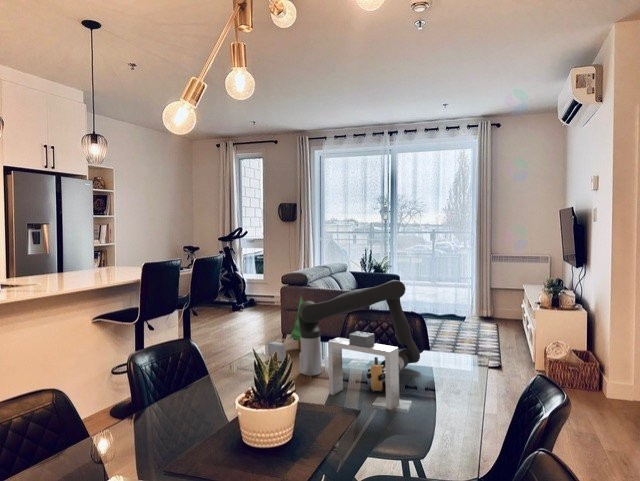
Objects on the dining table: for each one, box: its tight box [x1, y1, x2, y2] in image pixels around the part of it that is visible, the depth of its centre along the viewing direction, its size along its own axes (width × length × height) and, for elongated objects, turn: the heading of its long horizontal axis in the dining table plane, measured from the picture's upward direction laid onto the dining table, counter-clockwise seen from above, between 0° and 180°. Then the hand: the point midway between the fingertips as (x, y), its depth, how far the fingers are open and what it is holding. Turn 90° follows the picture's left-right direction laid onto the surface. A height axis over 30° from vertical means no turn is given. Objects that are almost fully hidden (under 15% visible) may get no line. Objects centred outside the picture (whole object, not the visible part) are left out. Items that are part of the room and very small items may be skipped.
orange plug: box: [370, 356, 383, 390], centre depth 188 cm, size 5×5×14 cm
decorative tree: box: [289, 296, 304, 351], centre depth 249 cm, size 14×16×30 cm
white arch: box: [327, 330, 400, 411], centre depth 179 cm, size 28×7×26 cm, turn 54°
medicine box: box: [267, 341, 286, 363], centre depth 231 cm, size 8×4×9 cm, turn 58°
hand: (373, 377), depth 186 cm, fingers closed on orange plug, 4 cm apart
